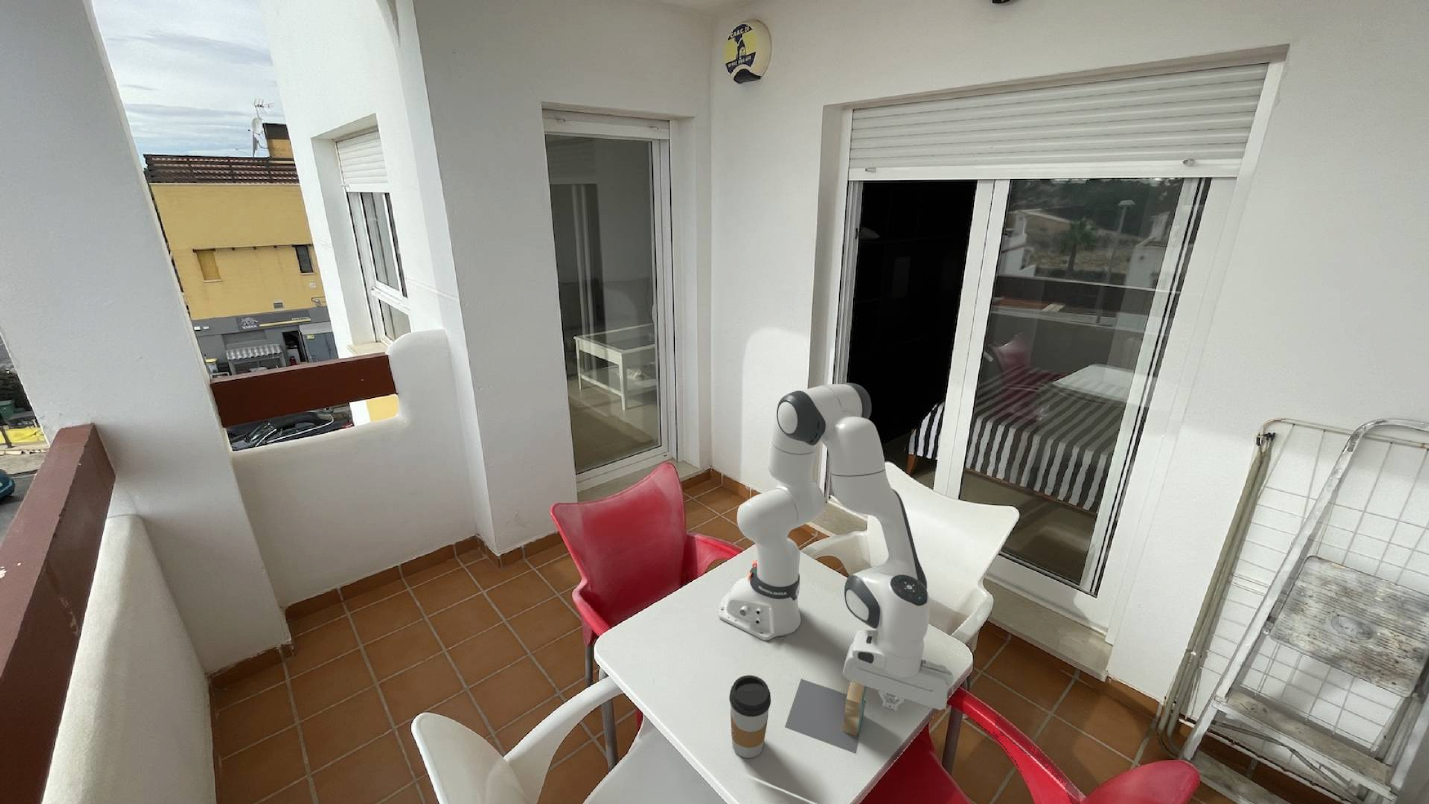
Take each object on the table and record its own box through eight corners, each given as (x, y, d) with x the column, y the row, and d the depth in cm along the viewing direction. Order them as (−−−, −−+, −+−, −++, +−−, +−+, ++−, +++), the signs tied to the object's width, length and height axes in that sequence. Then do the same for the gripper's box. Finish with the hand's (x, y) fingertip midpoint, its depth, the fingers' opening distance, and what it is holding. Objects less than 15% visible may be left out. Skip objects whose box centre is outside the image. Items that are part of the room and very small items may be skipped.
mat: (784, 728, 116) (784, 726, 116) (800, 680, 128) (801, 678, 128) (855, 755, 111) (855, 753, 111) (865, 702, 123) (865, 700, 123)
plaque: (842, 731, 115) (846, 698, 112) (847, 709, 121) (851, 677, 118) (858, 736, 114) (862, 704, 111) (862, 714, 119) (866, 682, 117)
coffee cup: (725, 729, 116) (727, 674, 111) (763, 726, 117) (767, 672, 112) (729, 766, 108) (732, 709, 103) (770, 763, 109) (775, 706, 104)
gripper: (954, 658, 107) (943, 711, 111) (850, 628, 114) (843, 679, 119) (954, 682, 102) (943, 737, 106) (844, 648, 109) (838, 701, 113)
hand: (889, 706), depth 112 cm, fingers closed
